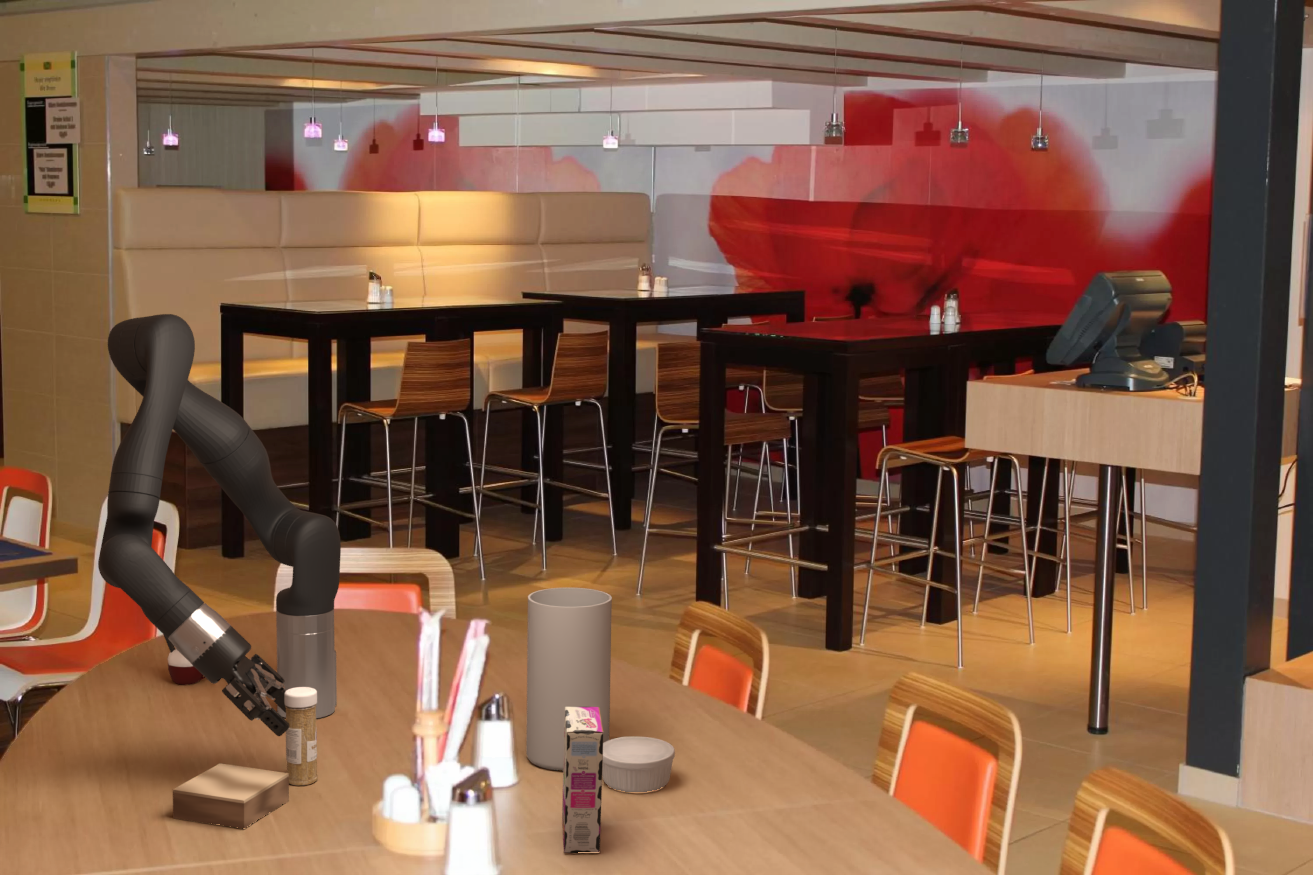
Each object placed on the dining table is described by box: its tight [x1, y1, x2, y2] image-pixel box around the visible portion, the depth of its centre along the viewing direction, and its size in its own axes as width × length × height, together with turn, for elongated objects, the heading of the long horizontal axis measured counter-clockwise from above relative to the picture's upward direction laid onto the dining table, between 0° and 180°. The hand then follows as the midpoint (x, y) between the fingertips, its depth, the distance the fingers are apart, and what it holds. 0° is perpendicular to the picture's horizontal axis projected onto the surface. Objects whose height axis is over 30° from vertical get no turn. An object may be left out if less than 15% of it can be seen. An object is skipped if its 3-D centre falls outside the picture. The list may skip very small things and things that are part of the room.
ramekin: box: [602, 735, 676, 792], centre depth 225 cm, size 11×11×5 cm
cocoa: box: [162, 633, 207, 686], centre depth 269 cm, size 10×6×12 cm, turn 68°
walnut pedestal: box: [172, 762, 290, 829], centre depth 211 cm, size 11×11×4 cm
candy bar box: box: [561, 707, 603, 854], centre depth 203 cm, size 11×5×16 cm, turn 5°
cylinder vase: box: [525, 587, 613, 772], centre depth 233 cm, size 12×12×25 cm
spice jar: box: [284, 687, 319, 787], centre depth 222 cm, size 5×5×13 cm
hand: (291, 722), depth 222 cm, fingers open, 8 cm apart
